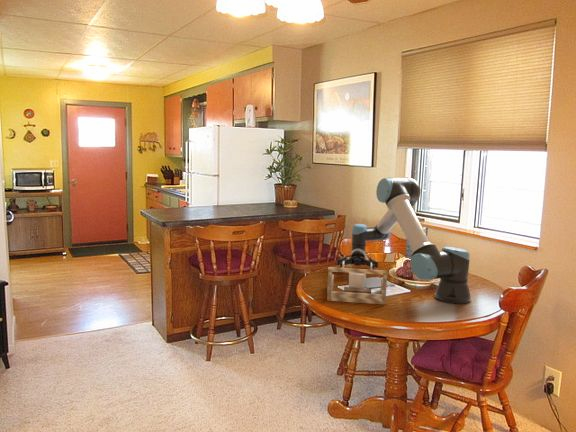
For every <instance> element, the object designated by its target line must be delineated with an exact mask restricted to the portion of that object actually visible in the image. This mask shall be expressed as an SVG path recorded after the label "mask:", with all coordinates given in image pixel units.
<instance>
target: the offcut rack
mask: <svg viewBox="0 0 576 432" xmlns="http://www.w3.org/2000/svg"><path fill="white" fill-rule="evenodd" d="M333 272H334V273H335V272H336V273H348V274H349V273H364V274H366V275H367V274H368V275H370V274H371V275H380V276H381V275H382V277H380V278H381V287H380V293H379V294H378V293H371V294H367V293H352V292H341V291H335V290H334V285H335V284H334V283H335V281H334V280H335V274H333ZM387 281H388V270H385V269H384V270H383V269H372V270H370V268H369V269H368V268H367V269H366V268H365V269H364V268H354V267H353V268H351V267H350V268H348V267H344V268H342V267H332V266H331V267H330V266H328V268H327V290H326V292H327V294H326V295H327V296H326V301H329V302H331V301H332V302H345V303H346V302H347V303H358V304H359V303H361V304H371V305H372V304H373V305H377V304H378V305H386V300H387V287H386V285H387Z"/></svg>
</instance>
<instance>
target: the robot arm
mask: <svg viewBox="0 0 576 432" xmlns="http://www.w3.org/2000/svg"><path fill="white" fill-rule="evenodd" d="M421 191H422V190H421V186H420V184H419V182H417V180H415V179H414V178H412V177H385V178H382V179H380V180H379V181H378V183H377V186H376V191H375V196H376V198H377V200H378V202H380V203H382V204H383V203H385V205H386V207H387V209H388V210H387V211H386V212H385V213H384V215H383V216H382V217H381V218H380V220H379V221H378V223H377V224H376V225H375V226H373V227H371V226H369V227H367V225H366V224H365V223H364V224H363V223H355V224H353V226H352V230H351V235H352V236H351V238H352V239H351V250H350V257H348V256H344V257H342V258H338V259H337V261H336V265H337V266H340V268H345V266H347V265H354V266H358V267H359V266H367V267H369V269H370V270H373V269H375V268H379V262H378V261H376V260H374V259H372V257H368V258H366V243H367V242H373V241H374V242H377V241H385V240H389V239H390V235H391V230H392V228H394V226H396V224H397V223H398V225H399V226H400V228H401V230H402V232H403V235H404V237H405V240H406V239H407V241H408V243H409V245H410V247H411V249H412V251H413V252H412V254H411V257H412V258H411V260H410V263H411V265H410V267H411V270H412V272H413V274H412V275H414V276H415V277H416V278H417V279H420V280H422V281H433V280H438V279H440V280H439V282H438V285H437V287H436V290H435V293H434V297H435V298H436V299H437V300H439V301H441V302H444V303H449V304H459V305H460V304H468V303H470V302H471V297H472V296H471V292H470V289H469V288H470V287H469V285H468V280H469V271H470V269H469V268H470V252H469V251H468V250H466V249H463V248H459V247H454V246H453V247H452V246H443V247H442V249H441V251H439V249H438V248H437V246H436V244H434V243H431V241H430V239H429V238H428V235H427V236H426V234H425V232H424V230H423V228H422V227H423V226H422V224H421V222H420V220H419V218H418V217H417V215H416V212H415V210H414V208H413V206H415V205H416V203H417V202H418V201H419V198H420V197H421V194H422V193H421Z"/></svg>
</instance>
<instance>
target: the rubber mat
mask: <svg viewBox="0 0 576 432" xmlns="http://www.w3.org/2000/svg"><path fill="white" fill-rule="evenodd" d="M388 286H390V287H395V284H393V283H392V282H390V281H388V280H387V285H386V288H387V287H388ZM365 288H368V289H369V288H370V289H378V288H380V289H381V277H379V276H375V277H374V276H371V277H366V281H365ZM388 288H389V287H388Z"/></svg>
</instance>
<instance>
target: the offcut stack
mask: <svg viewBox="0 0 576 432" xmlns="http://www.w3.org/2000/svg"><path fill="white" fill-rule="evenodd" d="M340 292H352V293H367V294H372V288H370V289H368V288H366V287H365V288H353V287H349V286H348V287H347V286H344V287H343V290H342V289H341V290H340Z"/></svg>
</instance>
